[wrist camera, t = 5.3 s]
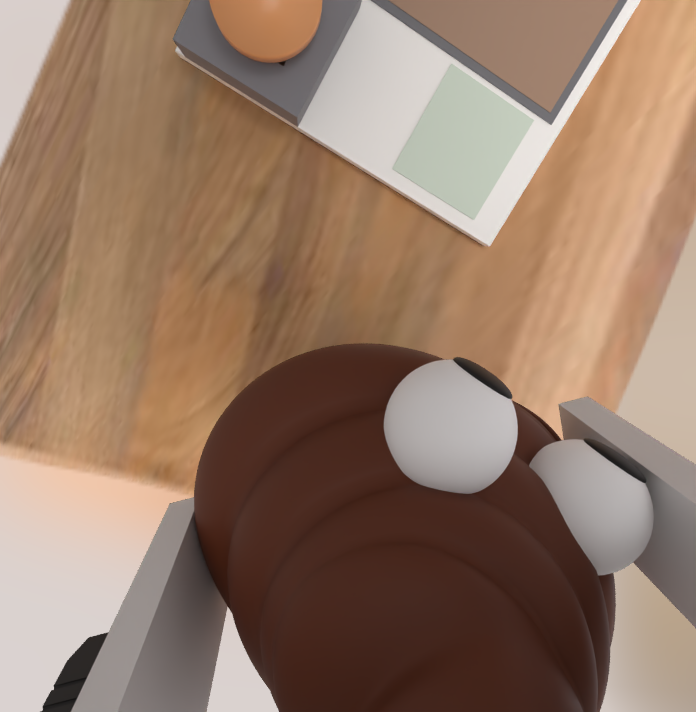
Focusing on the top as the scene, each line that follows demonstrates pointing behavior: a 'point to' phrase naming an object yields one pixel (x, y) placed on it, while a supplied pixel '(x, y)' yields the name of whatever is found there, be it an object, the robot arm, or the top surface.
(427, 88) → the picture board
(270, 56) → the button
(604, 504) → the poop emoji
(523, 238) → the top surface
